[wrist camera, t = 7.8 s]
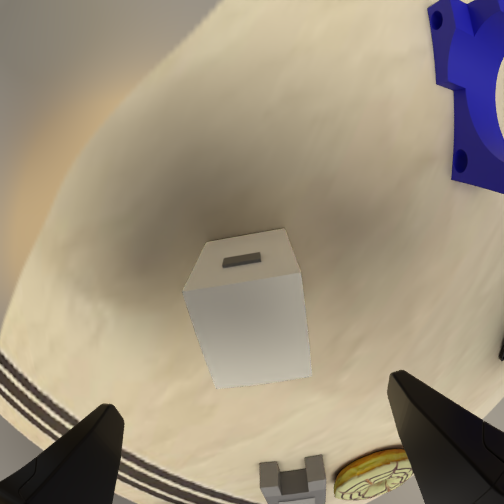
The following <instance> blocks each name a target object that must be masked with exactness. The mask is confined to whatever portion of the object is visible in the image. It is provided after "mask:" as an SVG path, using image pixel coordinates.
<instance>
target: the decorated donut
mask: <svg viewBox="0 0 504 504" xmlns="http://www.w3.org/2000/svg"><path fill="white" fill-rule="evenodd" d="M413 473H414V472H413V470H412V467H411V465H410V462H409V459H408V457H407V454H406V452H405V450H404V449H390V450H384V451H378V452H375V453H372V454H370V455H368V456H365V457H362V458H360V459H358V460H355V461H354V462H353V463H351V464H349V465H348V466H346V467H345V468H344V469H342V470H341V472H340V473H339V474H338V476H337V478H336V481H335V484H334V494H335V498H338V499H342V500H363V499H369V498H372V497H375V496H378V495H381V494H384V493H387V492H389V491H392V490H394V489H395V488H397V487H399V486H401V485H402V484H403V483H404V482H405V481H406V480H408V479H409V477H410V476H411V475H412V474H413Z"/></svg>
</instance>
